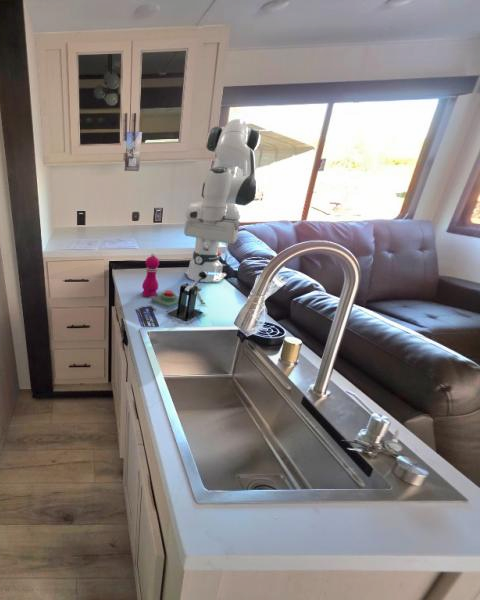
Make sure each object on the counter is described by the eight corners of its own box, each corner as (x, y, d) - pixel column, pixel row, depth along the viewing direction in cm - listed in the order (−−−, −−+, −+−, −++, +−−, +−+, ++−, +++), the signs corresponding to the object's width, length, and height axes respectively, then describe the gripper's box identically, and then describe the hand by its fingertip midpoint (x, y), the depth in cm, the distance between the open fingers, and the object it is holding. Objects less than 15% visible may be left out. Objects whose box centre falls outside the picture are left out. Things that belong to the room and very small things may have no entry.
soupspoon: (199, 289, 156) (185, 289, 157) (199, 282, 154) (186, 282, 155) (210, 305, 135) (194, 305, 136) (211, 298, 134) (195, 298, 135)
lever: (201, 275, 129) (201, 269, 127) (208, 277, 127) (208, 270, 125) (183, 294, 125) (182, 288, 123) (190, 296, 122) (189, 290, 120)
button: (167, 293, 140) (168, 289, 139) (174, 295, 137) (175, 292, 136) (162, 295, 138) (163, 291, 137) (169, 297, 135) (170, 294, 134)
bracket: (183, 307, 134) (187, 279, 129) (203, 315, 128) (208, 285, 123) (166, 316, 127) (170, 286, 122) (186, 324, 121) (190, 293, 116)
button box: (166, 296, 145) (167, 288, 144) (183, 302, 139) (184, 294, 137) (151, 303, 139) (152, 294, 137) (168, 309, 132) (169, 301, 131)
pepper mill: (157, 298, 143) (161, 256, 135) (141, 297, 145) (144, 255, 136) (157, 292, 150) (161, 251, 142) (141, 291, 151) (145, 251, 143)
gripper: (244, 216, 111) (237, 254, 117) (193, 210, 126) (188, 244, 131) (236, 218, 108) (228, 257, 113) (184, 212, 122) (179, 247, 128)
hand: (206, 250), depth 122 cm, fingers closed
